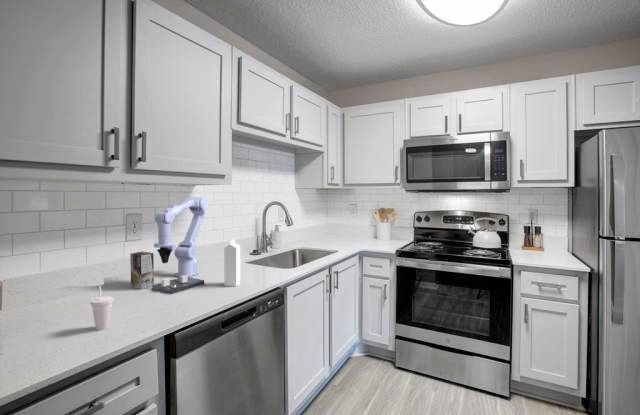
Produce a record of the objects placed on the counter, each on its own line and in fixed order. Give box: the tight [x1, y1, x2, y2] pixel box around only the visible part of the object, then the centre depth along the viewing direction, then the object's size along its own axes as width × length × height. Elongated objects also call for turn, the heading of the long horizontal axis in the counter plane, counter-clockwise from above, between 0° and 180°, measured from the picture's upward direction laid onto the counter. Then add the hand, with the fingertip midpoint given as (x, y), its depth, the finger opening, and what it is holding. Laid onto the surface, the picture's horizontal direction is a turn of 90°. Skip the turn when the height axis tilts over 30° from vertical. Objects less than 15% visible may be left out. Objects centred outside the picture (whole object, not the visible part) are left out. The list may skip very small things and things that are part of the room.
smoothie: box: [90, 285, 114, 331], centre depth 107 cm, size 6×6×14 cm
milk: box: [223, 239, 241, 287], centre depth 158 cm, size 6×6×22 cm
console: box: [151, 276, 205, 295], centre depth 154 cm, size 18×14×3 cm
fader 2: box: [179, 275, 188, 283], centre depth 154 cm, size 3×2×3 cm, turn 150°
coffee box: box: [129, 251, 155, 290], centre depth 154 cm, size 9×6×16 cm
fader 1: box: [161, 277, 171, 287], centre depth 148 cm, size 3×2×3 cm, turn 150°
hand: (165, 262), depth 161 cm, fingers closed
